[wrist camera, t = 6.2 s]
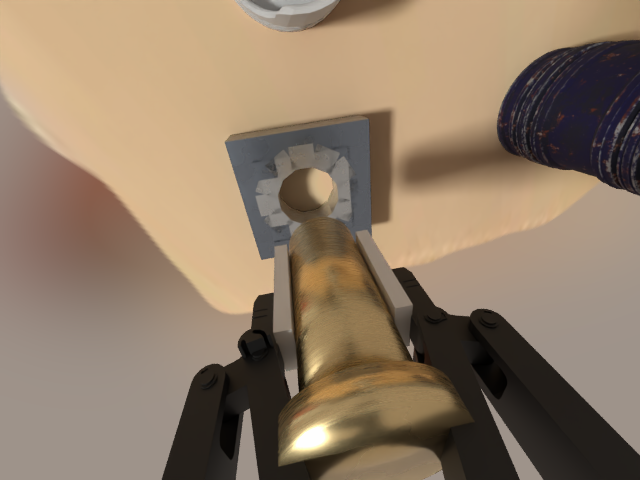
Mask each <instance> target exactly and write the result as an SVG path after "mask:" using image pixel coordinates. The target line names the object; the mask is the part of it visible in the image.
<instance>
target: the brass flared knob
mask: <svg viewBox="0 0 640 480" xmlns="http://www.w3.org/2000/svg"><path fill="white" fill-rule="evenodd" d="M289 253H290V267H291V281H292V296H293V310H294V325H295V340H296V356H297V370H298V386H299V393H298V394H297V395H295V396H294V397H293V398H292V399H291V400H290V401H289V402H288V403H287V404H286V405H285V407H284V408H283V409H282V411H281V412H280V415H279V417H278V466H283V465H287V464H292V463H296V462H300V461H304V462H305V464H306V467H307V469H308V472H309V474H310V477H311V479H312V480H423V479H425V478H427V477H429V476H431V475H433V474H435V473H437V472H439V471H441V470H442V466H441V462H440V461H441V457H442V454H443V451H444V447H445V444H446V441H447V438H448V434H449V431H450V428H451V427H454V426H458V425H463V424H467V423H472V422H474V420H473V418H472V416H471V415H470V413H469V411H468V410H467V408H466V406H465V404H464V403H463V401H462V399H461V398H460V396H459V394H458V392H457V391H456V389H455V387H454V385H453V384H452V382H451V380H450V379H449V377H448V376H447V375H446V374H445V373H443V372H442V371H441V370H439V369H437V368H435V367H433V366H430V365H427V364H423V363H418V362H413V360H412V358H411V356H410V354H409V351H408V350H407V347H406V345H405V343H404V341H403V339H402V337H401V335H400V333H399V331H398V329H397V327H396V325H395V323H394V321H393V319H392V317H391V314H390V312H389V310H388V308H387V306H386V304H385V302H384V300H383V298H382V296H381V294H380V292H379V290H378V288H377V286H376V284H375V282H374V280H373V278H372V276H371V273H370V271H369V269H368V267H367V265H366V263H365V261H364V259H363V257H362V255H361V253H360V251H359V249H358V247H357V245H356V243H355V241H354V239H353V237H352V234H351V232H350V230H349V229H348V227H347V226H346V225H345V224H344V223H342V222H341V221H339V220H337V219H334V218H330V217H317V218H312V219H310V220H307V221H305V222H304V223H302V224H301V225H300V226H298V227H297V229H296V230H295V231H294V232H293V234H292V236H291V238H290V242H289Z"/></svg>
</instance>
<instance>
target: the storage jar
mask: <svg viewBox="0 0 640 480" xmlns="http://www.w3.org/2000/svg"><path fill="white" fill-rule="evenodd" d="M497 132H498V137H499V141H500V143H501V144H502V146H503V147H504V148H505V150H507V151H508V152H510V153H512V154H514V155H517V156H522V157H524V158H527V159H528V160H530V161H533V162H535V163H538V164H542V165H546V166H548V167H551V168H557V169H562V170H575V171H578V172H582V173H585V174H588V175H592V176H595V177H597V178H598V179H599V180H600V181H602V182H603V183H606V184H608V185H609V186H611V187H614V188H616V189H624V190H627V191H628V192H631V193H633V194H637V195H639V196H640V40H629V41H618V42H599V43H592V44H587V45H584V46H580V47H575V48H562V49H557V50H554V51H551V52H548V53H546V54H544V55H543V56H541V57H539V58H538V59H536V60H535V61H534V62H532V63H531V64H530V65H529V66H528V67H527V68H525V69H524V70H523V71H522V73H521V74H520V75H519V76H518V77H517V78H516V80H515V81H514V82H513V84H512V85H511V87H510V88H509V90H508V92H507V94H506V95H505V98H504V100H503V102H502V105H501V108H500V111H499V115H498V120H497Z"/></svg>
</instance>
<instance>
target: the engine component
mask: <svg viewBox="0 0 640 480" xmlns="http://www.w3.org/2000/svg"><path fill="white" fill-rule="evenodd" d="M339 1H340V0H235V2H236V3H237V4H238V5H239V6H240V7H241V8H242V9H243V10H244V11H245V12H246V13H247V14H248V15H249V16H250V17H251V18H253V19H254V20H255V21H257V22H259V23H260V24H262V25H264V26H266V27H268V28H271V29H274V30H277V31H281V32H297V31H302V30H305V29H308V28H310V27H313V26H314V25H316V24H317V23H319V22H320V21H322V20H323V19H324V18H325V17H326V16H327V15H328V14H329V13H330V12H331V11H332V10H333V9H334V8H335V6H336V5H337V4H338V3H339Z"/></svg>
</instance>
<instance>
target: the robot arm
mask: <svg viewBox="0 0 640 480" xmlns="http://www.w3.org/2000/svg"><path fill="white" fill-rule="evenodd" d="M355 233H356V245H357V247H358V249H359V251H360V253H361V255H362V257H363V259H364V261H365V263H366V265H367V267H368V269H369V271H370V273H371V276H372V278H373V280H374V282H375V284H376V286H377V288H378V290H379V292H380V294H381V296H382V298H383V300H384V302H385V304H386V306H387V308H388V310H389V312H390V314H391V317H392V319H393V321H394V323H395V325H396V327H397V329H398V331H399V333H400V335H401V337H402V339H403V341H404V343H405V345H406V346H409V343H410V339H411V341H412V343H413V345H414V354H413V362H418V363H423V364H427V365H430V366H433V367H435V368H437V369H439V370H441V371H442V372H443V373H445V374H446V375H447V376H448V377H449V379H450V380H451V382H452V384H453V385H454V387H455V389H456V391H457V392H458V394H459V396H460V398H461V399H462V401H463V403H464V404H465V406H466V408H467V410H468V411H469V413H470V415H471V416H472V418H473V420H474V422H472V423H467V424H463V425H458V426H454V427H451V428H450V431H449V434H448V438H447V441H446V444H445V447H444V451H443V454H442V457H441V461H440V462H441V466H442V470H443V474H444V478H445V480H520V479H519V477H518V474H517V472H516V470H515V467H514V465H513V463H512V460H511V458H510V456H509V453H508V451H507V449H506V446H505V444H504V442H503V440H502V437H501V435H500V433H499V430H498V428H497V426H496V423H495V421H494V419H493V416H492V414H491V412H490V409H489V407H488V405H487V402H486V400H485V398H484V395H483V393H482V391H481V389H482V390H483V392H484V393H485V395H486V396H487V398H488V399H489V401H490V402H491V404H492V405H493V407H494V408H495V410H496V411H497V412H498V414H499V415H500V417H501V418H502V420H503V421H504V423H505V424H506V426H507V427H508V428H509V430H510V431H511V433H512V434H513V436H514V437H515V438H516V440H517V442H518V443H519V445H520V446H521V447H522V449H523V450H524V452H525V453H526V455H527V456H528V458H529V459H530V461H531V462H532V463H533V465H534V466H535V468H536V469H537V471H538V472H539V474H540V475H541V477H542V478H543V480H640V455H639V454H638V453H637V452H636V451H635V450H634V449H633V448H632V447H631V446H630V445H629V444H628V443H627V442H626V441H625V440H624V439H623V438H622V437H621V436H620V435H619V434H618V433H617V432H616V431H615V430H614V429H613V428H612V427H611V426H610V425H609V424H608V423H607V422H606V421H605V420H604V419H603V418H602V417H601V416H600V415H599V414H598V413H597V412H596V411H595V410H594V409H593V408H592V407H591V406H590V405H589V404H588V403H587V402H586V401H585V400H584V399H583V398H582V397H581V396H580V395H579V394H578V393H577V392H576V391H575V390H574V388H573V387H572V386H570V385H569V384H568V382H567V381H565V379H564V378H563V377H561V376H560V374H559V373H558V372H557V371H556V370H555V369H554V368H553V367H552V366H551V365H550V364H549V363H548V362H547V361H546V360H545V359H544V358H543V357H542V356H541V355H540V354H539V353H538V352H537V351H536V350H535V349H534V348H533V347H532V346H531V345H530V344H529V343H528V342H527V341H526V340H525V339H524V338H523V337H522V336H521V335H520V334H519V333H518V332H517V331H516V330H515V329H514V328H513V327H512V326H511V325H510V324H509V323H508V322H507V321H506V320H505V319H504V318H503V317H502V316H501V315H499V314H498V313H496V312H494V311H492V310H488V309H477V310H475V311H473V312H472V313H471V315H470V317H469V316H455V315H450V314H447V312H446V311H444V310H443V309H441V308H438V307H436V306H435V305H434V304H433V302H432V301H431V299H430V298H429V297H428V295H427V294H426V292H425V291H424V289H423V288H422V287H421V286H420V284H419V283H418V281H417V280H416V278H415V277H414V275H413V274H412V272H410V271H409V270H407V269H406V268H404V267H401V268H396V269H391V268H390V266H389V265H388V263H387V261H386V260H385V258H384V257H383V255H382V253H381V252H380V250H379V248H378V247H377V245H376V243H375V242H374V240H373V238H372V237H371V235H370V234H369V232H368V230H362V231H357V232H355ZM238 348H239V351H240V353H241V355H242V357H240V359H238V360H236V361H235V362H233V363H231V364H229V365H227V366H225V367H223V366H221V365H219V364H211V365H208V366H205V367H204V368H203V369H201V370H200V371H199V372H198V373H197V374H196V375H195V377H194V379H193V381H192V383H191V386H190V389H189V392H188V396H187V399H186V402H185V405H184V409H183V412H182V415H181V418H180V422H179V425H178V428H177V432H176V435H175V438H174V441H173V445H172V448H171V451H170V454H169V458H168V461H167V464H166V467H165V471H164V474H163V477H162V480H236V471H237V463H238V455H239V446H240V438H241V430H242V422H243V414H244V411H246V410H247V409H249V408H250V412H251V420H252V428H253V436H254V443H255V451H256V459H257V466H258V473H259V480H312V479H311V477H310V474H309V472H308V469H307V467H306V464H305V462H304V461H300V462H296V463H292V464H287V465H283V466H278V417H279V415H280V412H281V411H282V409H283V408H284V407H285V405H286V404H287V403H288V402H289V401H290V400H291V396H290V392H289V388H288V385H287V381H286V379H285V373H284V372H285V370H284V369H286V371H290V370H295V369H297V356H296V340H295V325H294V310H293V296H292V281H291V267H290V256H289V252H288V247H287V244H286V245H281V246H275V259H274V293H269V294H264V295H259V296H258V297H257V299H256V301H255V302H254V307H253V316H252V326H251V329H250V330H248V331H246V332H245V333H244V334H243V335H242V336H241V337H240V339H239V341H238ZM284 366H285V367H284Z"/></svg>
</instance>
